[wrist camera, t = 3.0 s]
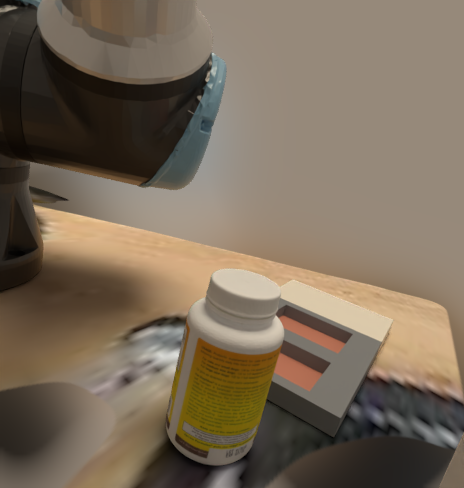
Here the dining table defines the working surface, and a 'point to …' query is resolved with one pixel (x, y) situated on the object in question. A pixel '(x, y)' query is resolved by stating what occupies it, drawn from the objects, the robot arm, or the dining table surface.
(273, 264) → the dining table surface
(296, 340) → the board
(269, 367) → the supplement bottle
